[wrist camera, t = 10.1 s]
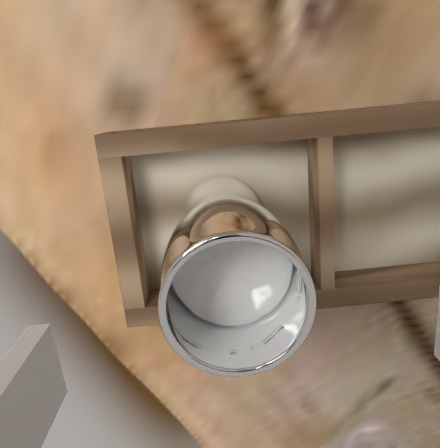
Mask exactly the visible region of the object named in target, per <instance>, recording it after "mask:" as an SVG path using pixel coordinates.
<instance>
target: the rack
mask: <svg viewBox="0 0 440 448" xmlns="http://www.w3.org/2000/svg"><path fill="white" fill-rule="evenodd" d="M94 138H95V143H96V149H97V155H98V161H99V166H100V172H101V178H102V184H103V189H104V195H105V201H106V207H107V212H108V218H109V224H110V230H111V236H112V241H113V247H114V253H115V259H116V264H117V270H118V276H119V282H120V287H121V293H122V299H123V305H124V310H125V316H126V322H127V328H129V327H139V326H149V325H159V324H160V322H159V317H158V296H159V291H160V276H161V268H162V262H163V257H164V253H165V250H166V247H167V244H168V241H169V239H170V236H171V234H172V232H173V230H174V229H175V227H176V226H177V224H178V223H179V222H180V220H181V219H182V212H183V206H184V203H185V200H186V198H187V196H188V195H189V193H190V192H191V191H192V190H193V189H194V188H195V187H196V186H197V185H198V184H200V183H201V182H203V181H205V180H208V179H210V178H214V177H231V178H235V179H238V180H240V181H242V182H244V183H245V184H247V185H248V186H249V187H250V188H251V189H252V190H253V191H254V192H255V194H256V195H257V197H258V199H259V201H260V204H261V206H263V207H264V208H266V209H267V210H269V211H270V212H272V213H273V214H274V215H275V216H276V217H277V218H278V219H279V220H280V221H281V223H282V224H283V225H284V226H285V228H286V229H287V230H288V232H289V233H290V235H291V236H292V238H293V240H294V242H295V243H296V245H297V247H298V249H299V251H300V253H301V256H302V258H303V260H304V263H305V266H306V268H307V269H308V271H309V273H310V275H311V277H312V280H313V283H314V287H315V291H316V309H320V308H330V307H340V306H351V305H361V304H371V303H381V302H391V301H401V300H411V299H421V298H431V297H439V286H440V101H430V102H419V103H409V104H398V105H387V106H377V107H366V108H356V109H345V110H335V111H324V112H314V113H303V114H292V115H282V116H271V117H261V118H250V119H240V120H229V121H219V122H208V123H197V124H187V125H176V126H166V127H155V128H145V129H134V130H124V131H113V132H106V133H102V134H98V135H94Z"/></svg>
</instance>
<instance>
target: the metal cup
mask: <svg viewBox="0 0 440 448" xmlns="http://www.w3.org/2000/svg"><path fill="white" fill-rule="evenodd" d="M315 313H316V291H315V287H314V283H313V280H312V277H311V275H310V273H309V271H308V269H307V268H306V266H305V263H304V260H303V258H302V256H301V253H300V251H299V249H298V247H297V245H296V243H295V242H294V240H293V238H292V236H291V235H290V233H289V232H288V230H287V229H286V228H285V226H284V225H283V224H282V223H281V221H280V220H279V219H278V218H277V217H276V216H275V215H274V214H273V213H272V212H270V211H269V210H267V209H266V208H264V207H263V206H261V204H260V201H259V199H258V197H257V195H256V194H255V192H254V191H253V190H252V189H251V188H250V187H249V186H248V185H247V184H245V183H244V182H242V181H240V180H238V179H235V178H231V177H214V178H210V179H208V180H205V181H203V182H201V183H200V184H198V185H197V186H196V187H195V188H194V189H193V190H192V191H191V192H190V193H189V195H188V196H187V198H186V200H185V203H184V206H183V212H182V219H181V220H180V222H179V223H178V224H177V226H176V227H175V229H174V230H173V232H172V234H171V236H170V239H169V241H168V244H167V247H166V250H165V253H164V257H163V262H162V268H161V276H160V291H159V296H158V317H159V322H160V325H161V329H162V331H163V334H164V336H165V338H166V339H167V341H168V343H169V344H170V346H171V347H172V348H173V349H174V351H175V352H176V353H177V354H178V355H179V356H180V357H182V358H183V359H184V360H185V361H187V362H188V363H189V364H191V365H193V366H194V367H196V368H198V369H201V370H203V371H206V372H208V373H212V374H216V375H221V376H230V377H239V376H249V375H254V374H258V373H261V372H264V371H267V370H269V369H271V368H274V367H276V366H277V365H279V364H281V363H282V362H284V361H285V360H286V359H288V358H289V357H290V356H291V355H293V354H294V353H295V352H296V351H297V350H298V348H299V347H300V346H301V345H302V343H303V342H304V341H305V339H306V337H307V336H308V334H309V332H310V330H311V327H312V325H313V322H314V318H315Z"/></svg>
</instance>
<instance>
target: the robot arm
mask: <svg viewBox="0 0 440 448" xmlns="http://www.w3.org/2000/svg"><path fill="white" fill-rule="evenodd" d="M434 355H435V357H436V358H437V359H438V360H439V361H440V286H439V298H438V311H437V323H436V336H435V349H434ZM66 393H67V390H66V385H65V381H64V377H63V373H62V369H61V365H60V361H59V357H58V353H57V349H56V344H55V341H54V337H53V332H52V328H51V324H40V325H30V326H27V327H26V328H25V330H24V331H23V332H22V333H21V335H20V336H19V337H18V339H17V340H16V341H15V342H14V344H13V345H12V346H11V348H10V349H9V350H8V351H7V353H6V354H5V355H4V357H3V358H2V359H1V360H0V448H41V446H42V444H43V442H44V440H45V438H46V435H47V433H48V431H49V429H50V427H51V425H52V423H53V421H54V418H55V416H56V414H57V412H58V410H59V408H60V406H61V404H62V401H63V399H64V397H65V395H66Z"/></svg>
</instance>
